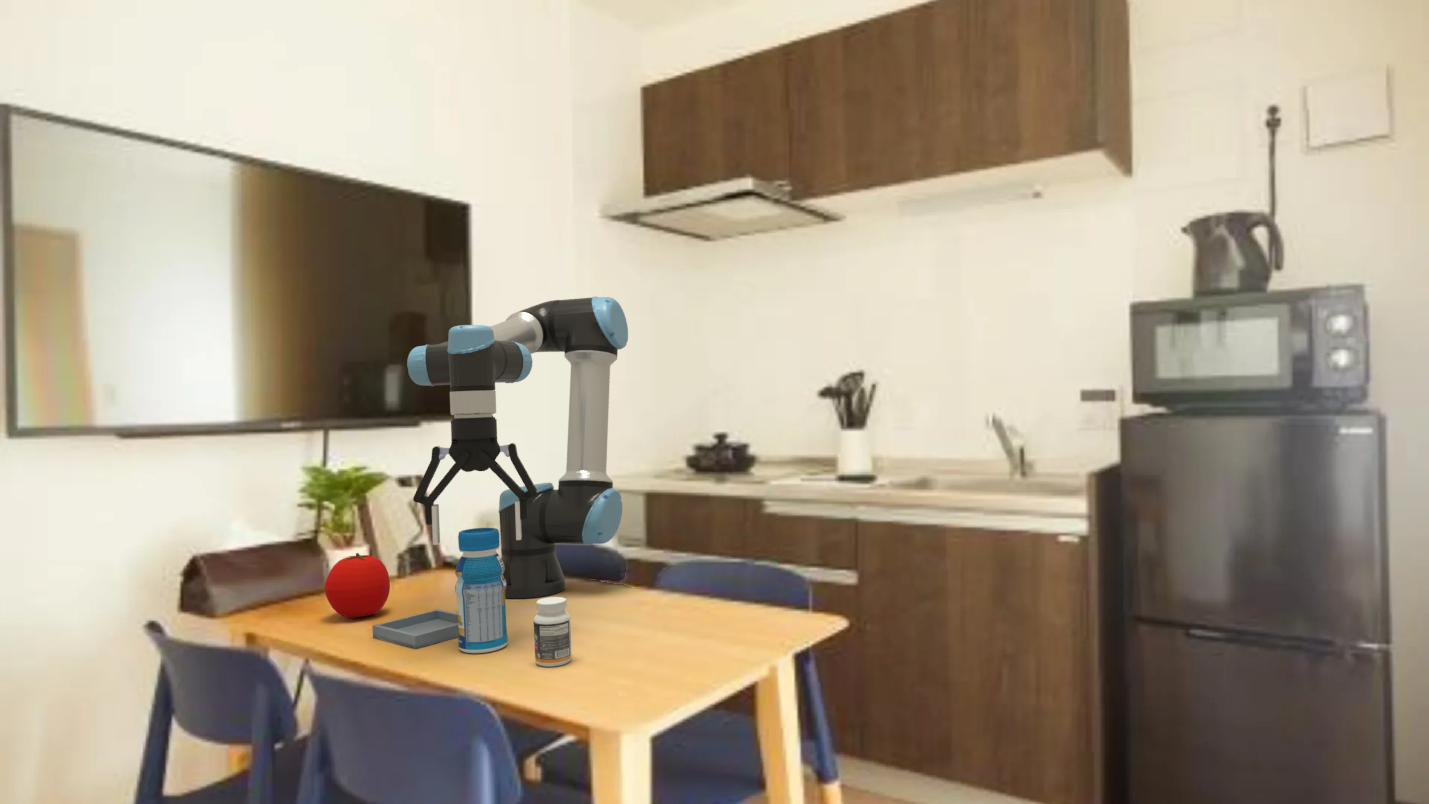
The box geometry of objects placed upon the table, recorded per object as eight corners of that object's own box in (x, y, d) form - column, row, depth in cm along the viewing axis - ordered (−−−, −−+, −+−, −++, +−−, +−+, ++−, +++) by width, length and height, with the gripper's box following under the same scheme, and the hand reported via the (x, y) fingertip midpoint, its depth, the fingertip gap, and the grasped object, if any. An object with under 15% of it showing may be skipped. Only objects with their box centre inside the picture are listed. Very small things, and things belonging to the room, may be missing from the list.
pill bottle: (537, 658, 142) (535, 597, 142) (573, 655, 142) (570, 595, 142) (533, 669, 136) (530, 605, 136) (570, 666, 137) (567, 603, 137)
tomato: (376, 606, 183) (374, 546, 183) (401, 614, 174) (398, 551, 174) (315, 618, 174) (312, 555, 174) (338, 628, 166) (335, 562, 166)
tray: (438, 620, 169) (437, 609, 169) (481, 630, 160) (481, 618, 160) (372, 637, 158) (372, 625, 158) (415, 649, 150) (415, 636, 150)
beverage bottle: (482, 657, 143) (477, 535, 143) (446, 651, 148) (442, 532, 148) (519, 643, 150) (514, 527, 150) (484, 638, 155) (479, 525, 155)
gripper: (548, 413, 154) (553, 533, 154) (401, 418, 150) (405, 542, 150) (547, 413, 147) (552, 540, 147) (392, 419, 143) (397, 549, 143)
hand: (478, 541), depth 149 cm, fingers open, 13 cm apart
